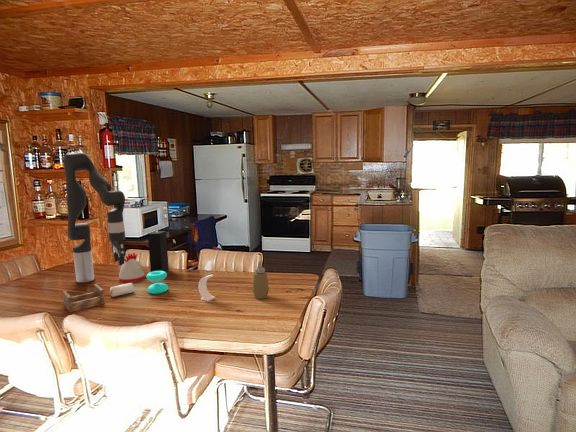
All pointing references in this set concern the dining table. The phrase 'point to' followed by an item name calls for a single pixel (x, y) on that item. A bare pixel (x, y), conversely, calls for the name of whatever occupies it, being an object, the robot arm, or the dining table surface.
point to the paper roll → (121, 289)
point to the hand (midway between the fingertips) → (119, 262)
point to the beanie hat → (131, 270)
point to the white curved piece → (205, 289)
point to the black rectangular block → (158, 250)
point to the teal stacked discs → (157, 287)
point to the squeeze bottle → (260, 282)
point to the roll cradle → (84, 299)
